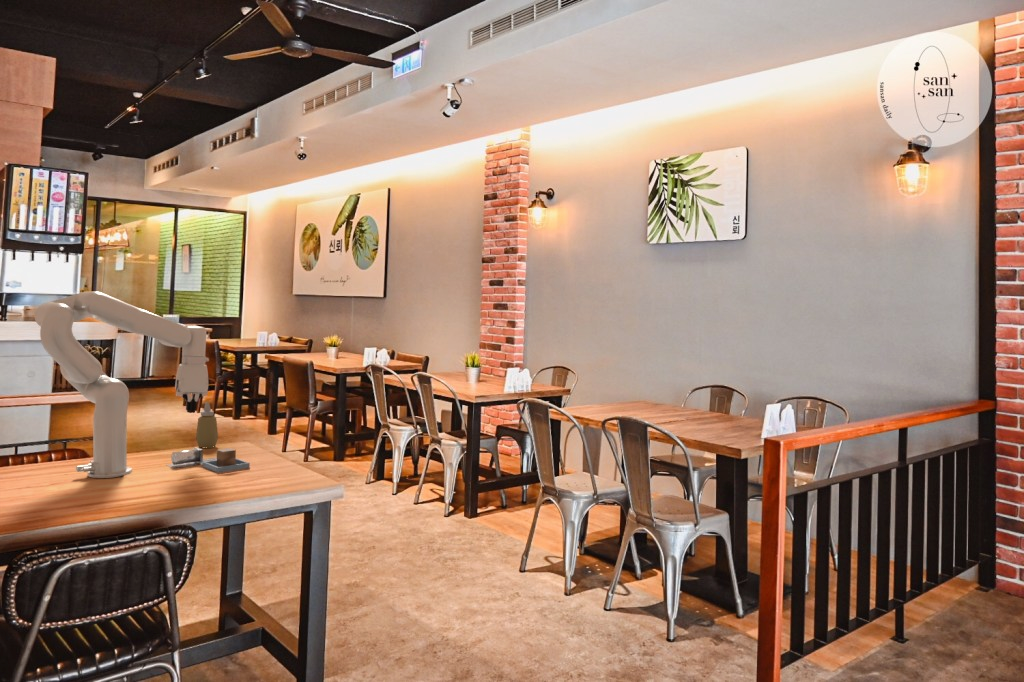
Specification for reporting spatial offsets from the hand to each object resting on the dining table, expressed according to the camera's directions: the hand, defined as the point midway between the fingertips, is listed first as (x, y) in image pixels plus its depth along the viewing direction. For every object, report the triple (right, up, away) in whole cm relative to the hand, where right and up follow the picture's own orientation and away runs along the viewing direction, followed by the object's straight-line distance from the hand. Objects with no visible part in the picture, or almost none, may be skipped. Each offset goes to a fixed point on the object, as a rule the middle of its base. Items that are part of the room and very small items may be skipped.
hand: (191, 412), depth 246 cm
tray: (+15, -19, -7) cm, 25 cm away
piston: (0, -18, -4) cm, 19 cm away
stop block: (+15, -18, -7) cm, 25 cm away
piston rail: (+3, -18, -1) cm, 18 cm away
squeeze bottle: (-6, -17, +27) cm, 33 cm away
